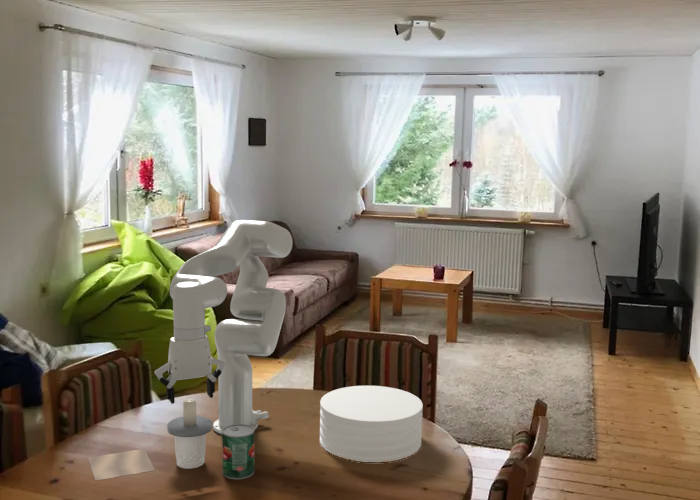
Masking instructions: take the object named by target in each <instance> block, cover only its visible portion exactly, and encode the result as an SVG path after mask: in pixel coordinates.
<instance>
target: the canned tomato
mask: <svg viewBox="0 0 700 500" xmlns="http://www.w3.org/2000/svg"><path fill="white" fill-rule="evenodd" d="M221 440H222V441H221V442H222V443H221V446H222V475H223V476H224V477H225V478H227V479H230V480H244V479H248V478H250V477H252V476H253V475H254V474H255V430H254V428H253V427H252V426H249V425H245V424H235V425H230V426H227V427H225V428H224V429H223V430H222V434H221Z"/></svg>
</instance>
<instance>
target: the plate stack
mask: <svg viewBox="0 0 700 500" xmlns="http://www.w3.org/2000/svg"><path fill="white" fill-rule="evenodd" d="M319 403H320V404H319V407H320V410H319V415H320V417H319V445H320V444H321V445H320V447H321V446H322V447H323V448H324V449H325V450H326V451H328V452H330V453H332V454H334V455H337V456H339V457H343V458H346V459H351V460H356V461H362V462H382V461H393V460H398V459H401V458H404V457H407V456H410V455H412V454H414V453H415V452H417V451H418V450H419V448H420V447H421V448H422V435H423V434H422V433H423V432H422V429H423V421H422V420H423V408H424V407H423V406H424V404H423V402H422V400H421V399H420V398H419V397H418V396H416V395H414V394H413V393H411V392H409V391H407V390H406V391H405V390H404V389H403V390H402V389H399V388H395V387H391V386H390V387H389V386H382V385H353V386H345V387H340V388H337V389H334V390H331V391H329V392H327V393H325V394H324V395H323V396H322V397H321V398H320V401H319ZM322 447H321V448H322ZM323 448H322V449H323ZM421 448H420V449H421ZM324 449H323V450H324ZM325 450H324V451H325ZM326 451H325V452H326ZM419 451H420V450H419ZM419 451H418V452H419ZM328 452H327V453H328ZM418 452H417V453H418ZM414 455H415V454H414Z"/></svg>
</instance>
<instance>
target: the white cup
mask: <svg viewBox="0 0 700 500" xmlns="http://www.w3.org/2000/svg"><path fill="white" fill-rule="evenodd" d="M173 437H174V438H173V439H174V450H175V460H176V467H177V466H178V467H179V468H181V469H188V470H189V469H195V468H199V467H201V466H203V465H204V464H205V456H206V444H207V443H206V441H207V440H206V439H207V433H206V434H204V435H201V436H196V437H178V436H173Z"/></svg>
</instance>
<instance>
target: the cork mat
mask: <svg viewBox="0 0 700 500" xmlns="http://www.w3.org/2000/svg"><path fill="white" fill-rule="evenodd" d="M87 460H88V462H89V463H88V464H89V467H90V469H91V472H92V475H93V478H94V479H93V480H94V481H102V480H107V479H108V480H109V479H113V478H114V479H115V478H119V477H126V476H131V475H138V474H142V473H149V472H154V471H156V469H155V468H154V466H153V463H152V461H151V460H150V458H149V455H148V454H147V452H146V450H145V448H140V449H139V448H138V449H133V450H128V451H121V452H116V453H115V452H114V453H108V454H102V455H96V456H89V457H87Z"/></svg>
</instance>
